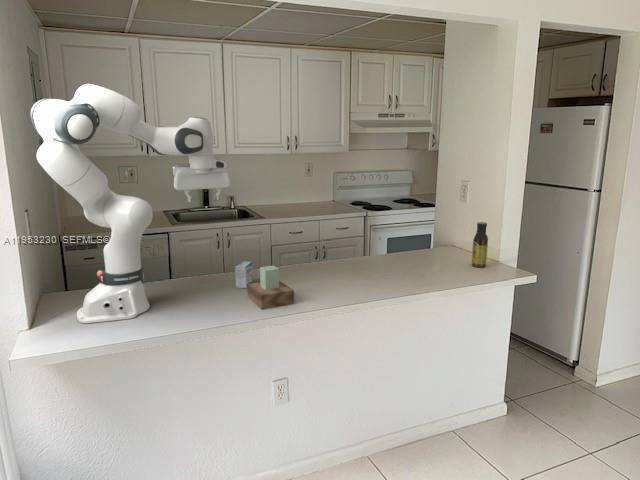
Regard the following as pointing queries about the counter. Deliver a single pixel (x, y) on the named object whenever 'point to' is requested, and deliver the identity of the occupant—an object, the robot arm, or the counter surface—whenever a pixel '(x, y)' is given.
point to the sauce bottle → (480, 246)
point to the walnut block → (270, 295)
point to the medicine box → (244, 274)
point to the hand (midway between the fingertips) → (203, 201)
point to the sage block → (269, 277)
